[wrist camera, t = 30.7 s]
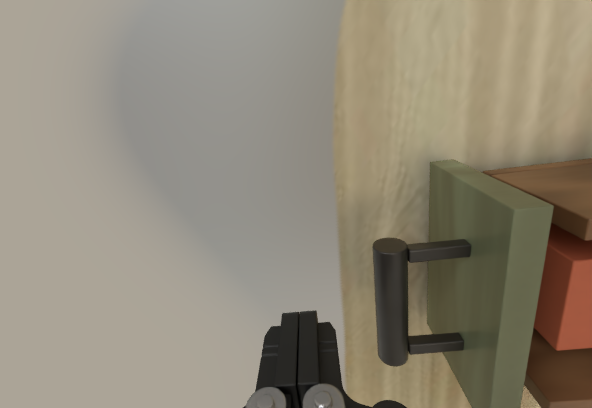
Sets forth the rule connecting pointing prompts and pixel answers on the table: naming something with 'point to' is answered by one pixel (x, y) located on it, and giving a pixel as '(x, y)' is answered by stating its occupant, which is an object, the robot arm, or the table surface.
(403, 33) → the table surface
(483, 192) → the drawer
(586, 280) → the block
